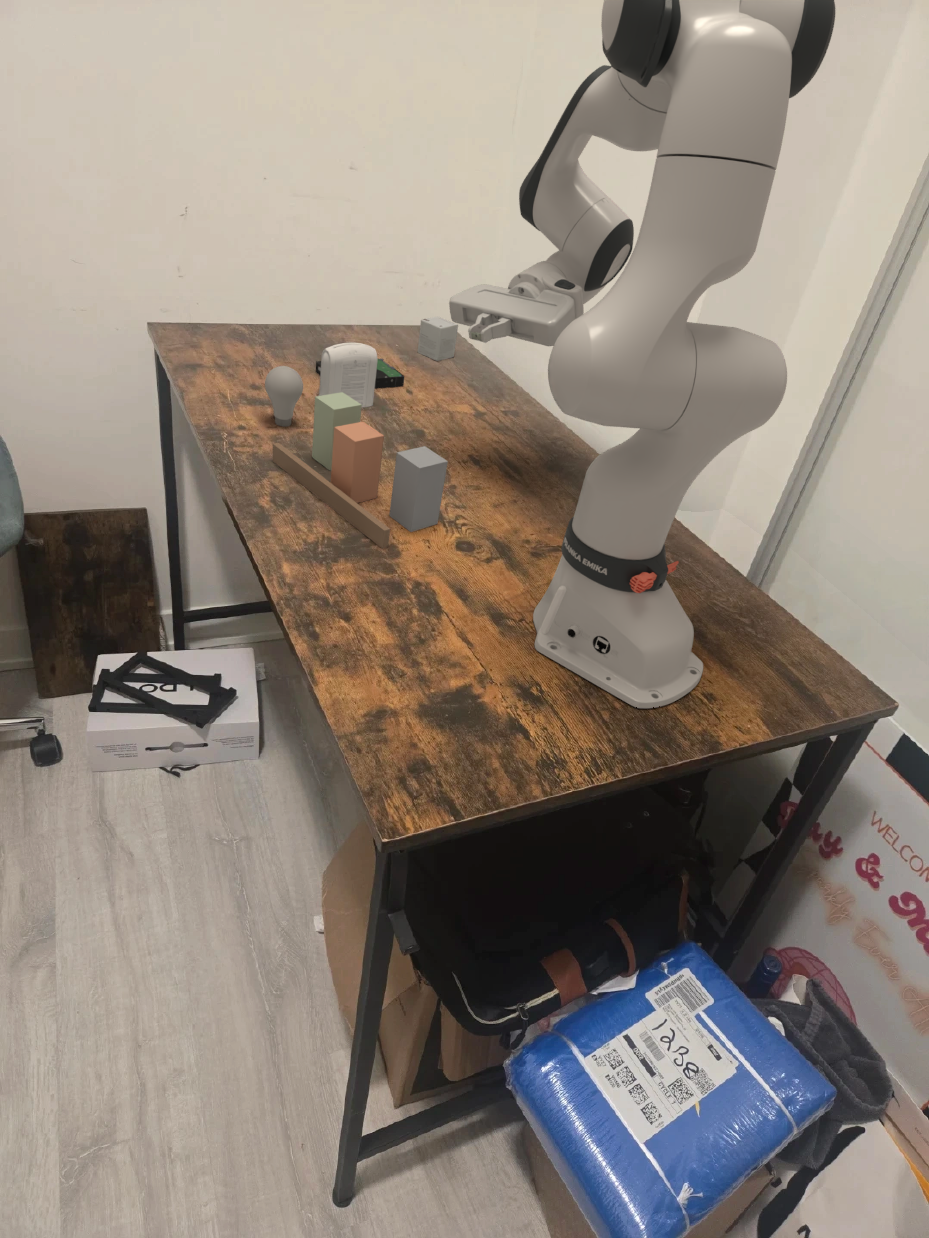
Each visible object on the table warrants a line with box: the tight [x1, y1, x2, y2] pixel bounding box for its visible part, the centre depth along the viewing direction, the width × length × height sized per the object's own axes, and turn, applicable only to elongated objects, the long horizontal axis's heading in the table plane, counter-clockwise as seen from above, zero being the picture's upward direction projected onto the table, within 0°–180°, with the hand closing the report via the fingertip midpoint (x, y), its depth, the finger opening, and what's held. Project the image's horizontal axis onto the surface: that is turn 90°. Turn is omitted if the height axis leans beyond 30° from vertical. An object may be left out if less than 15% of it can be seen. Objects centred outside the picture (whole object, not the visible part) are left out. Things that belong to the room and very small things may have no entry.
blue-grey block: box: [388, 445, 449, 533], centre depth 111 cm, size 5×5×10 cm
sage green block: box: [311, 392, 363, 472], centre depth 122 cm, size 5×5×10 cm
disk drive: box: [315, 357, 405, 390], centre depth 157 cm, size 10×3×15 cm
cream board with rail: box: [271, 442, 391, 549], centre depth 119 cm, size 28×19×4 cm
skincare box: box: [417, 316, 459, 362], centre depth 174 cm, size 6×6×7 cm
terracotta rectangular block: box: [330, 421, 385, 504], centre depth 115 cm, size 5×5×10 cm
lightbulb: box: [264, 365, 304, 428], centre depth 130 cm, size 6×6×11 cm
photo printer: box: [318, 342, 379, 408], centre depth 141 cm, size 10×4×12 cm, turn 123°
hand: (476, 336), depth 112 cm, fingers closed
